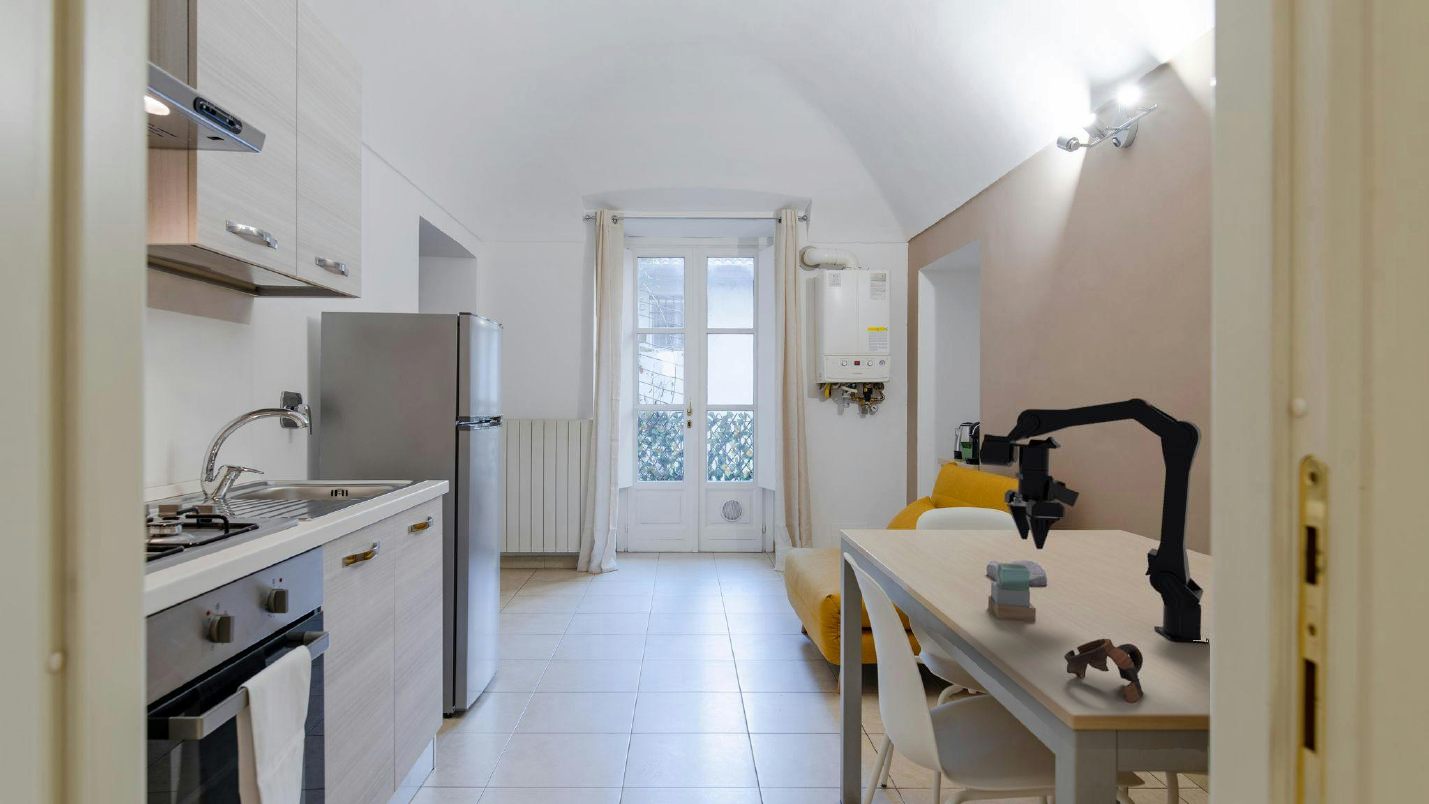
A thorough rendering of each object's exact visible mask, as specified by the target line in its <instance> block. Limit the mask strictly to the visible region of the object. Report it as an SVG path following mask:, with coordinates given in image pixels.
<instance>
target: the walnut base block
mask: <svg viewBox="0 0 1429 804" xmlns="http://www.w3.org/2000/svg"><path fill="white" fill-rule="evenodd" d="M987 600H988V603H987V605H988V606H987V608H988V609H989V611H990V610H991V611H990V612H991V613H992V612H993V613H992V614H993V616H994V617H995V618H996V617H997V618H996V619H997V620H1004V619H1007V621H1008V619H1009V621H1022V622H1023V621H1024V622H1036V619H1037V618H1036V616H1037V615H1036V610H1037V608H1036V607H1035V606H1034V605H1033V604H1032V603H1031V602H1030V607H1023V606H1010V605H997V604H996V602H995V601H994V599H993V598H992V596H991V595H988V598H987Z"/></svg>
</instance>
